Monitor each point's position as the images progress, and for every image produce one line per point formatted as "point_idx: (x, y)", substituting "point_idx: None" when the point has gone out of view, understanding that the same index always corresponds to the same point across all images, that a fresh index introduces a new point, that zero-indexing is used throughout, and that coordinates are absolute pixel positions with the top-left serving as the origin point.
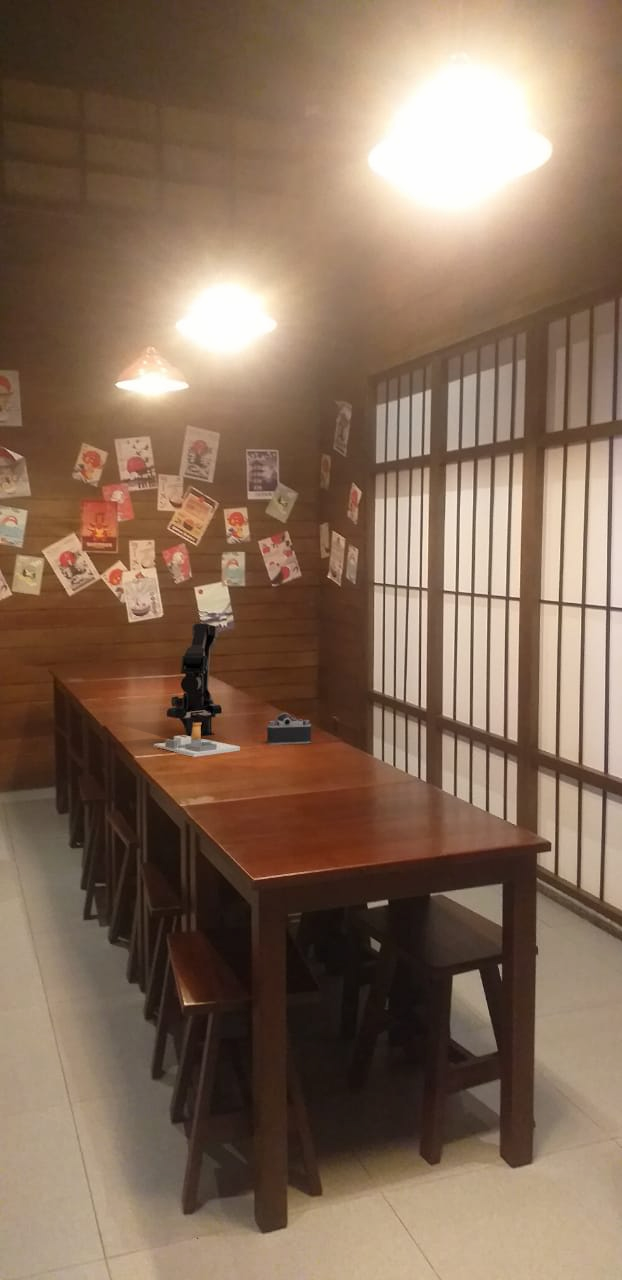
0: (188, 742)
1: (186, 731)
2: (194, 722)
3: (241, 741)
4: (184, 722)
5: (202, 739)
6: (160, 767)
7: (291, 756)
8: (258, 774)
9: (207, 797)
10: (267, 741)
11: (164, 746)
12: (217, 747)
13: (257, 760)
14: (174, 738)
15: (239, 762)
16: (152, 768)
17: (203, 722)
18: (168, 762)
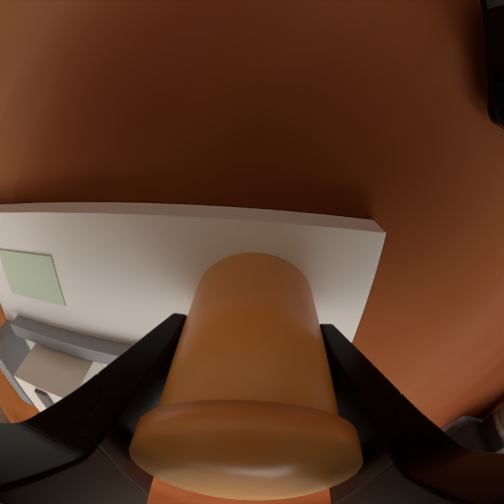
0: None
1: (135, 352)
2: (253, 476)
3: (475, 362)
4: (63, 439)
5: (347, 306)
6: (14, 414)
7: (302, 501)
8: (150, 500)
9: None
10: (448, 431)
11: (4, 311)
12: None
13: (215, 497)
14: (22, 372)
15: (170, 488)
16: (3, 406)
17: (336, 492)
18: (26, 410)
